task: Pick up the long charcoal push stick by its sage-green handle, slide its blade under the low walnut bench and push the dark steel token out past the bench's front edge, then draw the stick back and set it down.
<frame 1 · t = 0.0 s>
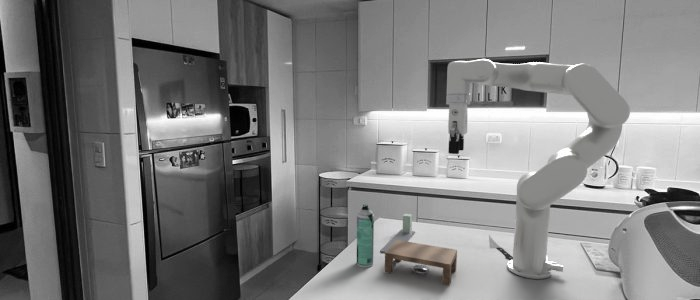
hand: (456, 151, 125), 37 cm above the countertop, tool pointing down, fingers open, 9 cm apart
push stick: (407, 233, 154), on the countertop
steel token: (420, 271, 119), on the countertop
spray can: (364, 264, 124), on the countertop
walnut bench: (420, 270, 119), on the countertop
cleaver: (487, 245, 141), on the countertop
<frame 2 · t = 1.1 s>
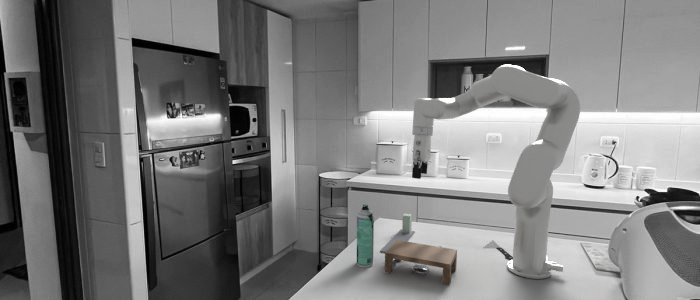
hand: (419, 175, 143), 25 cm above the countertop, tool pointing down, fingers open, 9 cm apart
nothing on the countertop moved.
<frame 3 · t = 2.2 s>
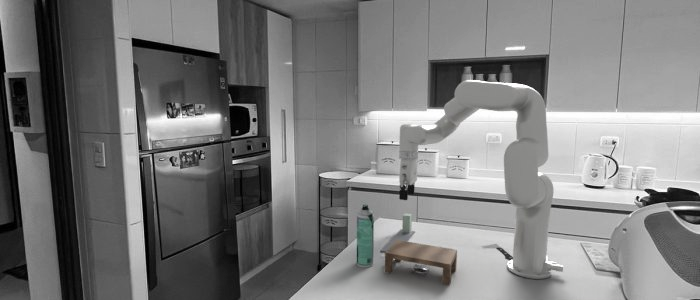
hand: (406, 196, 152), 15 cm above the countertop, tool pointing down, fingers open, 9 cm apart
nothing on the countertop moved.
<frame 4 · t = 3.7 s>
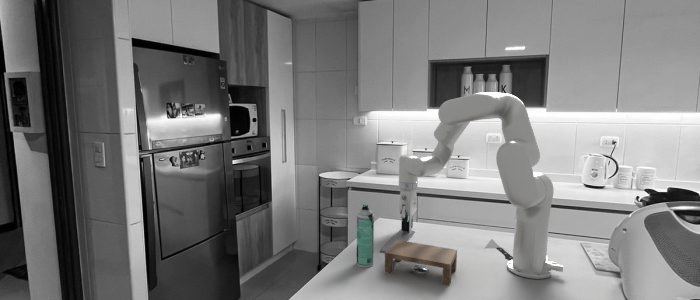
hand: (407, 228, 153), 2 cm above the countertop, tool pointing down, fingers open, 3 cm apart
push stick: (406, 233, 154), on the countertop, touching gripper
everything else where it was.
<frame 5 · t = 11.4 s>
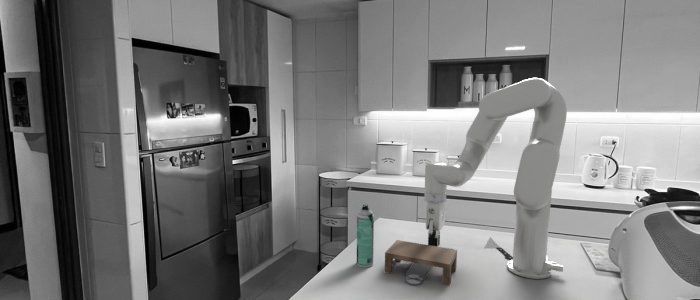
hand: (433, 246, 135), 2 cm above the countertop, tool pointing down, fingers closed on push stick, 3 cm apart
push stick: (433, 250, 135), on the countertop, touching gripper
steel token: (413, 282, 112), on the countertop
everything else where it was.
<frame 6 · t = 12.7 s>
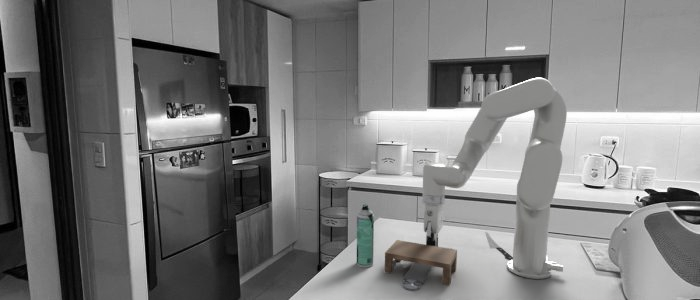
hand: (431, 248, 132), 2 cm above the countertop, tool pointing down, fingers closed on push stick, 3 cm apart
push stick: (431, 253, 132), on the countertop, touching gripper
steel token: (411, 287, 109), on the countertop
everything else where it was.
when the fingers open (2 cm above the countertop, at t = 16.4 s): push stick drops 1 cm, on the countertop.
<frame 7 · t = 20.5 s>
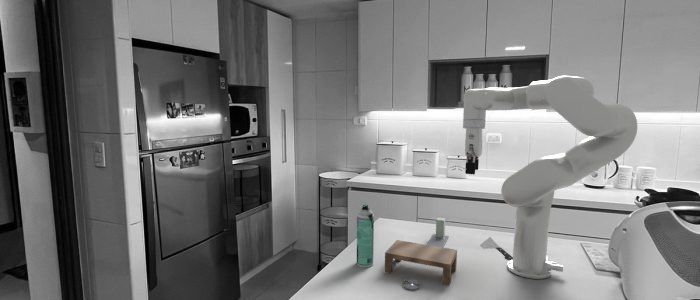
hand: (471, 171, 135), 28 cm above the countertop, tool pointing down, fingers open, 9 cm apart
push stick: (440, 238, 148), on the countertop
everything else where it was.
at the end: steel token inside the target area (1.8 cm from its centre), on the countertop; steel token moved 11.0 cm from its start; the gripper is holding nothing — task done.
